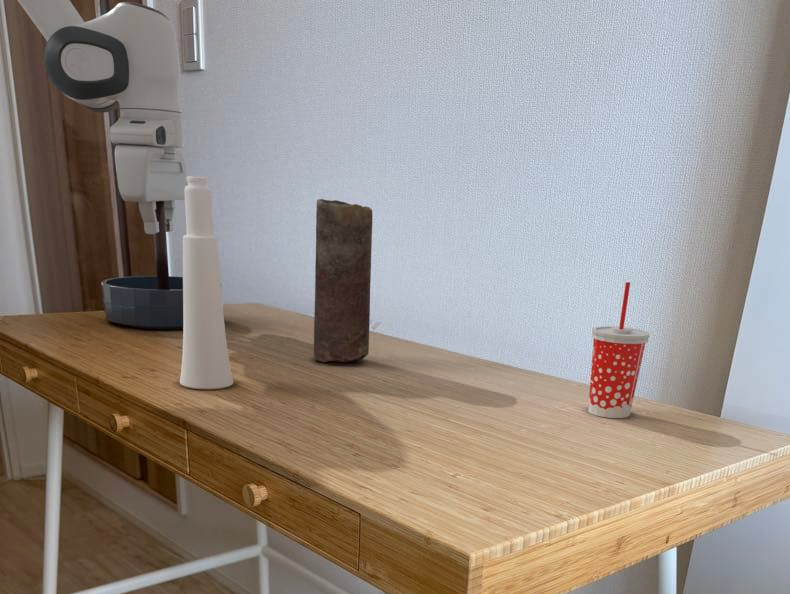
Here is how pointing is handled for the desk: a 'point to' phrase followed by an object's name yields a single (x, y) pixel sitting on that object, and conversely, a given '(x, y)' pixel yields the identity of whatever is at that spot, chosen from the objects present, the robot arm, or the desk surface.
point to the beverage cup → (615, 366)
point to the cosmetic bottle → (202, 296)
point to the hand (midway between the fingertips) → (159, 232)
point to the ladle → (161, 248)
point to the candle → (342, 281)
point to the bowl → (143, 302)
